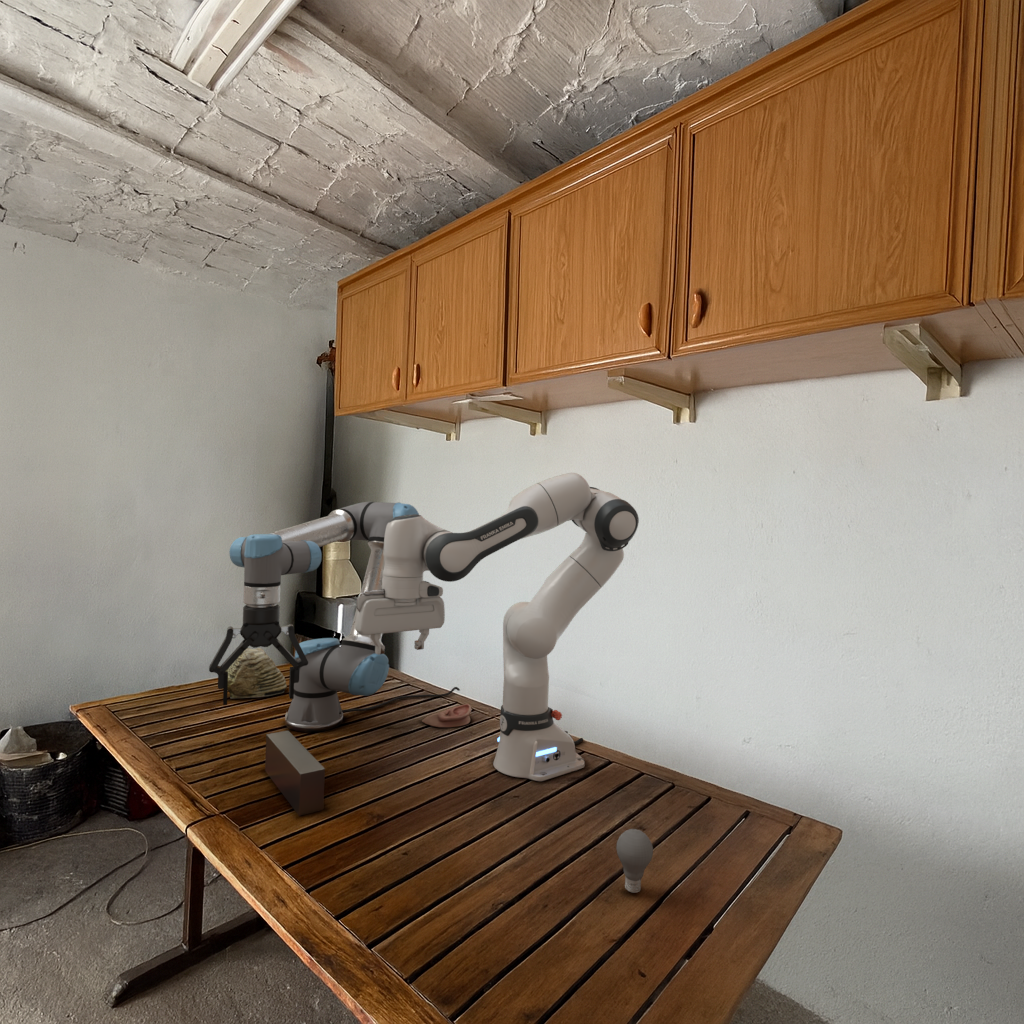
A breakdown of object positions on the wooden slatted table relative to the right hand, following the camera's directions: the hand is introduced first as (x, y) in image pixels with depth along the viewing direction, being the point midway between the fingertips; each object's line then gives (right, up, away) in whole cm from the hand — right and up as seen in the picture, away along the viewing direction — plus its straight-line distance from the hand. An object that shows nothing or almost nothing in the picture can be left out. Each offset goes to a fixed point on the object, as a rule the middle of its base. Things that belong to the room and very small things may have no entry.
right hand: (399, 651), depth 139 cm
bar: (-23, -29, -2) cm, 37 cm away
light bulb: (+45, -33, -33) cm, 65 cm away
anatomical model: (+6, -30, +43) cm, 53 cm away
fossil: (-56, -27, +59) cm, 86 cm away
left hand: (-31, -11, +1) cm, 33 cm away
